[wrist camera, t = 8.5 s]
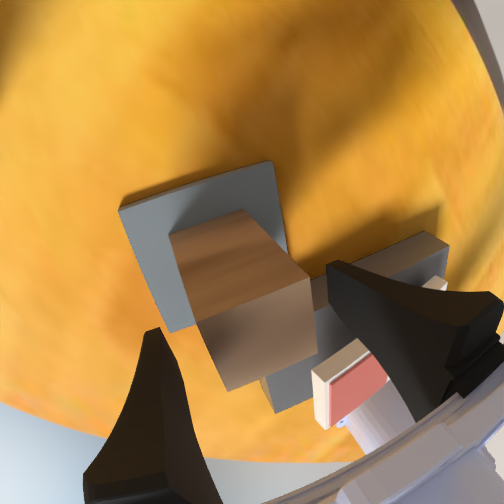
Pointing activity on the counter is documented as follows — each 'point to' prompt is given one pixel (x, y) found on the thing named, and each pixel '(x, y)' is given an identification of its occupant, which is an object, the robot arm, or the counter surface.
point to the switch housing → (335, 331)
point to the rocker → (350, 377)
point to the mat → (192, 213)
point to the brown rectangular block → (245, 297)
